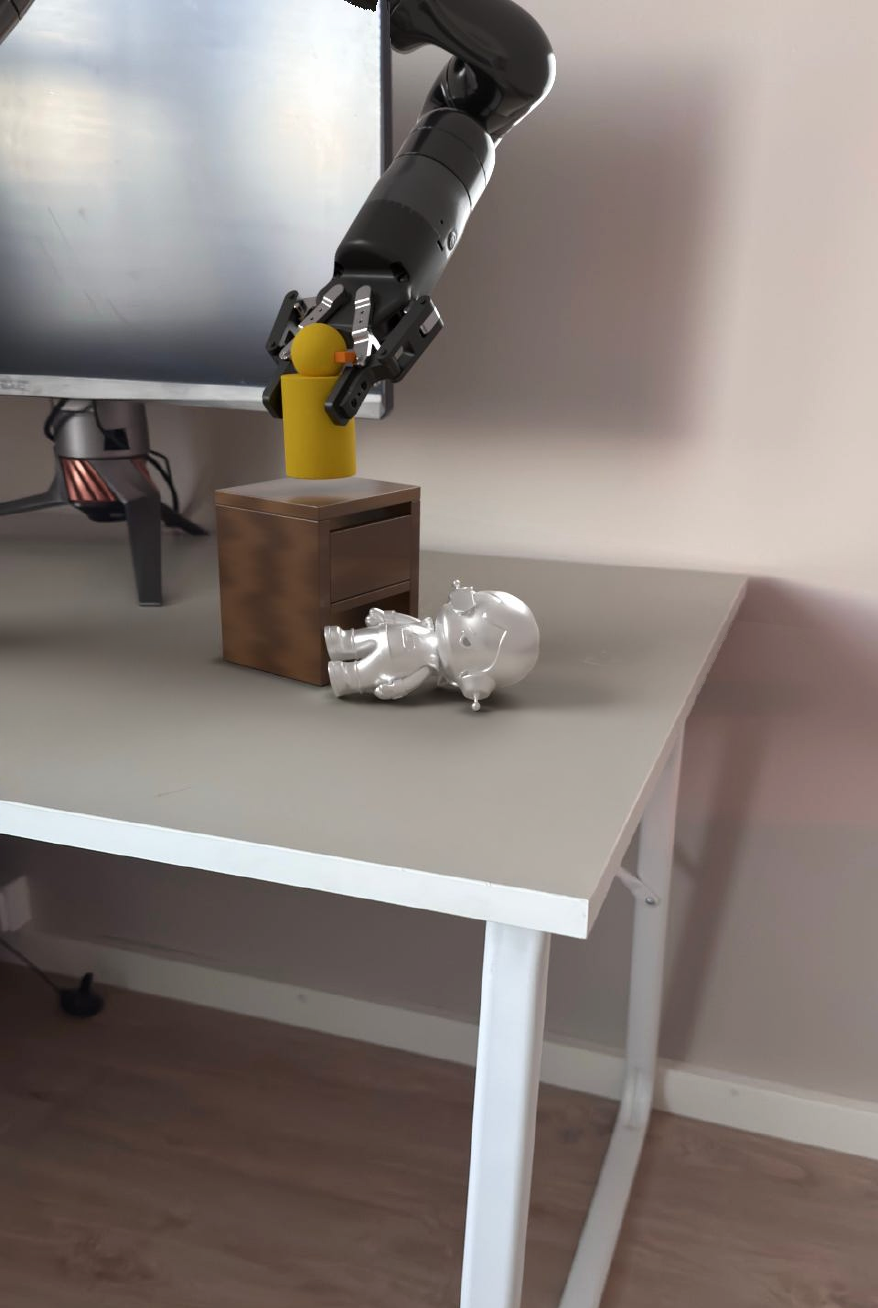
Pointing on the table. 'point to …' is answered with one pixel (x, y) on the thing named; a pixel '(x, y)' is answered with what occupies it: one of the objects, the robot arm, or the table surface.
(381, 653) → the figurine
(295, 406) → the duck
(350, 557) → the wooden box
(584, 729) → the table surface
